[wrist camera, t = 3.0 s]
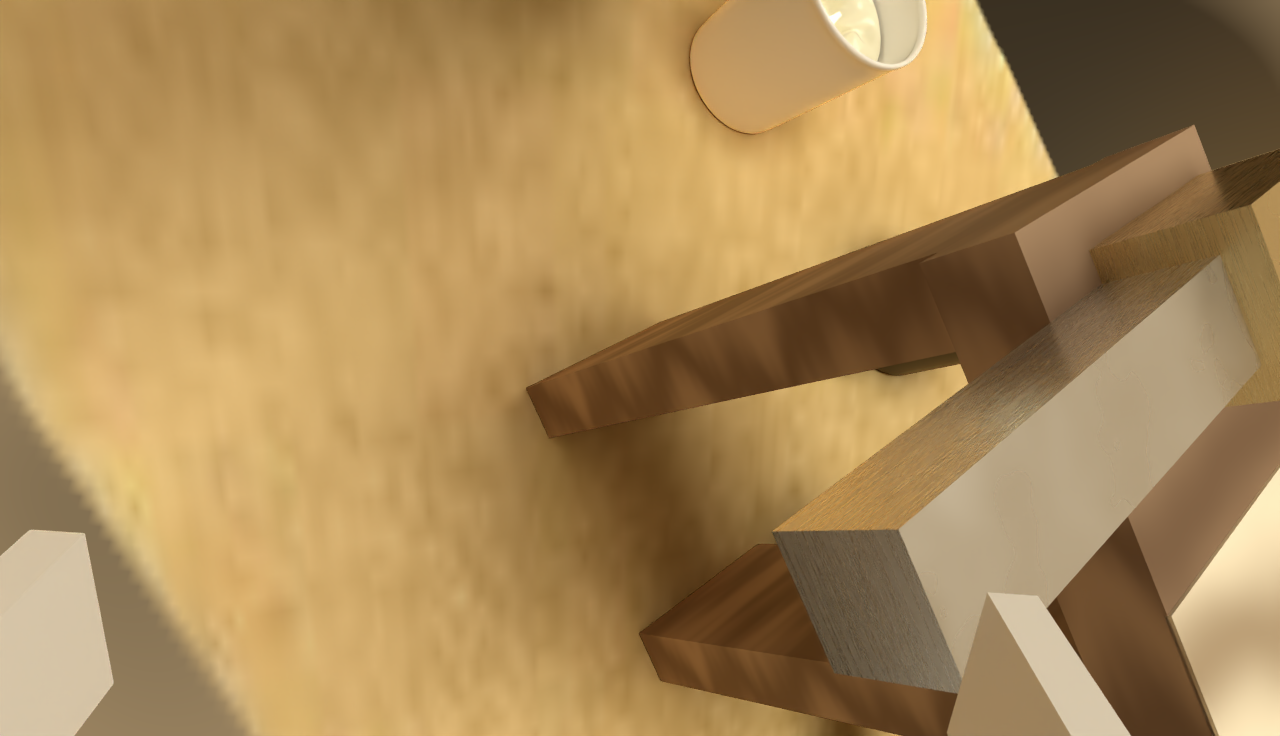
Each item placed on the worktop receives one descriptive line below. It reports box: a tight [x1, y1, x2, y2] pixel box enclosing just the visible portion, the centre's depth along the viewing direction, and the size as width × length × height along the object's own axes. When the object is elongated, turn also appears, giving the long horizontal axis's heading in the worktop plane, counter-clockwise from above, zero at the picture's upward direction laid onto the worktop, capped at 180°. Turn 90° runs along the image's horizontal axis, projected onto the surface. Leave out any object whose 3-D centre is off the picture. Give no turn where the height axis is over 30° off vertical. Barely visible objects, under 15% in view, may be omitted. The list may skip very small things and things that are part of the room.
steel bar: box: [772, 149, 1280, 694], centre depth 21 cm, size 5×22×4 cm, turn 119°
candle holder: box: [690, 0, 927, 134], centre depth 55 cm, size 10×10×12 cm
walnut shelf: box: [526, 125, 1280, 736], centre depth 39 cm, size 18×12×30 cm, turn 29°
